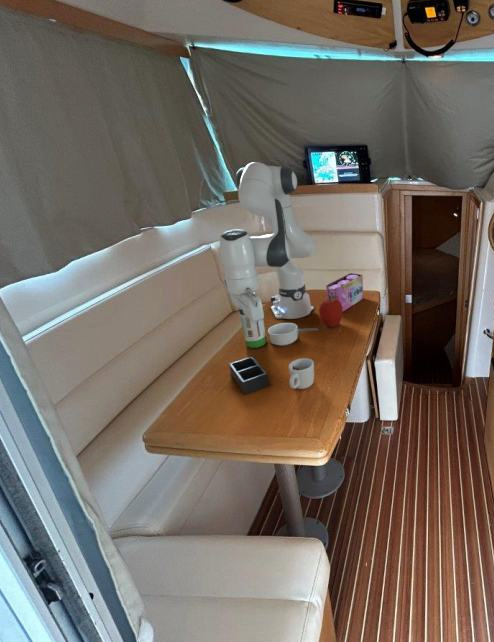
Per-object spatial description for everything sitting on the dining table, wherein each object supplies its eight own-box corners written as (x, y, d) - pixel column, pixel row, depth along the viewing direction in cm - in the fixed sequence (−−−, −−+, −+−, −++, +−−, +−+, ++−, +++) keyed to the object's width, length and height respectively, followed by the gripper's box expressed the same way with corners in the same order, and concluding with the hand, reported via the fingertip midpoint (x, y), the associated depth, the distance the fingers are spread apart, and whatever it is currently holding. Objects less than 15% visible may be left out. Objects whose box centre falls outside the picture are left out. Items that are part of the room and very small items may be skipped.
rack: (231, 375, 126) (228, 363, 124) (254, 367, 131) (252, 356, 129) (245, 394, 116) (242, 382, 114) (269, 385, 121) (267, 373, 119)
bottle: (263, 348, 143) (251, 277, 133) (243, 349, 143) (229, 277, 132) (269, 339, 151) (258, 271, 140) (250, 340, 150) (237, 271, 139)
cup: (304, 398, 114) (301, 377, 111) (281, 395, 116) (278, 373, 113) (320, 379, 124) (318, 359, 121) (299, 376, 126) (296, 356, 123)
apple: (337, 318, 171) (335, 291, 166) (348, 325, 164) (346, 297, 159) (316, 324, 164) (313, 296, 159) (327, 332, 157) (324, 303, 152)
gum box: (339, 314, 176) (337, 288, 171) (325, 312, 178) (323, 286, 173) (364, 298, 196) (362, 274, 192) (351, 296, 199) (350, 272, 194)
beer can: (264, 336, 118) (258, 302, 114) (250, 342, 114) (244, 307, 110) (254, 333, 120) (248, 299, 116) (241, 338, 116) (234, 304, 112)
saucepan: (315, 347, 145) (314, 334, 143) (265, 347, 144) (263, 335, 142) (322, 334, 156) (321, 322, 154) (275, 334, 155) (273, 322, 153)
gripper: (266, 290, 105) (272, 333, 110) (243, 274, 119) (250, 312, 124) (243, 295, 101) (251, 339, 106) (222, 278, 115) (230, 317, 120)
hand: (250, 324), depth 115 cm, fingers closed on beer can, 5 cm apart
